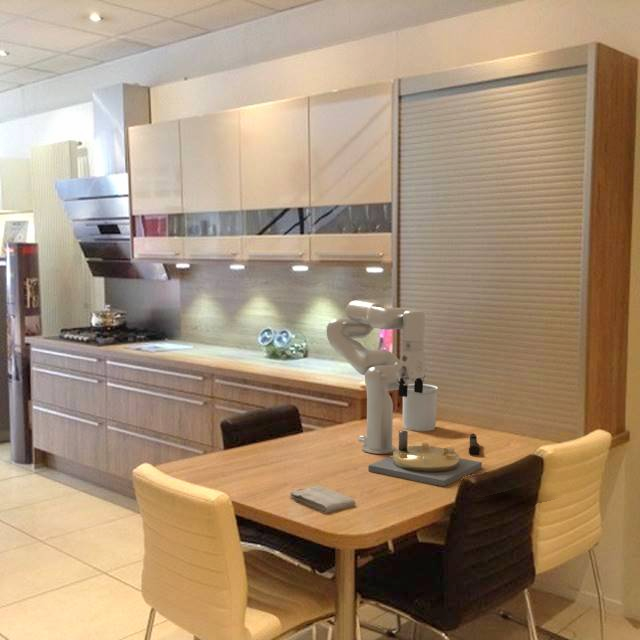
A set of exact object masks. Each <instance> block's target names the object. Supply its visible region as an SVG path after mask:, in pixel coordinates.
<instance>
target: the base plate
mask: <svg viewBox="0 0 640 640" xmlns="http://www.w3.org/2000/svg"><path fill="white" fill-rule="evenodd" d="M482 463H483V462H482V461H478V460H473V459H468V458H461V457H459V466H458V467H457V468H455V469H453V470H449V471H441V472H423V471H414V470H409V469H404V468H401V467H399V466H397V465H395V464H394V463H393V455H390V456H388V457H386V458H383V459H381V460H379V461H375V462H373V463H371V464H368V466H367V467H368V472H370V473H377V474H380V475H385V476H391V477H394V478H401V479H405V480H409V481H413V480H414V481H415V482H418V481H419V483H423V482H424V483H423V484H428V483H429V484H428V485H433V484H434V485H433V486H437V485H439V486H438V487H442V486H445V485H446V486H448V485H450V484H452V483H454V482H456V481H458V480H460V479H462V478H464V477H466V476H468V475H470V474H472V473H474V472H476V471H478V470H480V469H482V468H483V467H482V466H483V465H482ZM465 475H466V476H465ZM463 476H464V477H463ZM461 477H462V478H461ZM459 478H460V479H459ZM457 479H458V480H457ZM455 480H456V481H455ZM453 481H454V482H453ZM451 482H452V483H451ZM449 483H450V484H449ZM447 484H448V485H447ZM446 486H445V487H446Z"/></svg>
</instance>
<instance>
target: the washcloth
mask: <svg viewBox="0 0 640 640" xmlns="http://www.w3.org/2000/svg"><path fill="white" fill-rule="evenodd" d="M289 497H290V499H291V500H292V501H295V502H297V503H299V504H302V505H304V506H306V507H308V508H311V509H314V510H316V511H318V512H320V513H324V514H329V513H331V512H336V511H339V510H344V509H348V508H351V507H354V506H356V504H357V503H356V500H355V499H354V498H352V497H349V496H347V495H344V494H343V493H340V492H337V491H336V490H332V489H329V488H327V487H326V486H325V487H324V486H322V485H314V486H312V487H307V488H299V489H296V490H292V491H291V492H290V495H289Z"/></svg>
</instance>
